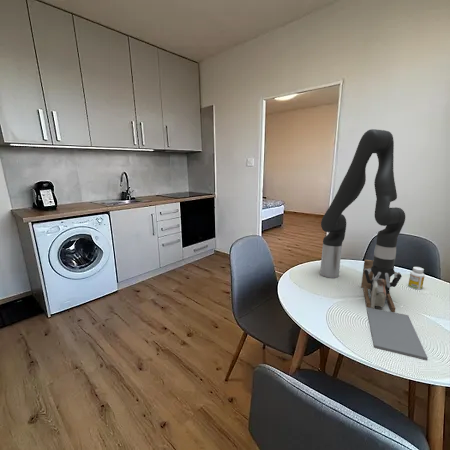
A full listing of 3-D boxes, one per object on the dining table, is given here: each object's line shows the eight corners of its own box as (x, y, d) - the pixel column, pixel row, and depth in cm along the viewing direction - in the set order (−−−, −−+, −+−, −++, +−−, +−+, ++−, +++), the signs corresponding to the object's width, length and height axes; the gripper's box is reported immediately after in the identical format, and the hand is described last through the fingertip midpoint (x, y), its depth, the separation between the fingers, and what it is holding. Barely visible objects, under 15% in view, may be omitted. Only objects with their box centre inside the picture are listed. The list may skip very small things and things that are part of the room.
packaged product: (383, 312, 100) (388, 290, 98) (369, 308, 103) (374, 286, 100) (381, 292, 116) (385, 273, 113) (369, 289, 118) (373, 270, 115)
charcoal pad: (373, 347, 81) (374, 345, 81) (366, 309, 103) (366, 307, 102) (427, 360, 76) (427, 357, 76) (407, 316, 97) (408, 315, 97)
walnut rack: (365, 307, 104) (369, 276, 100) (361, 286, 121) (364, 259, 118) (396, 313, 99) (401, 281, 96) (387, 290, 117) (392, 262, 114)
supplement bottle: (417, 284, 123) (420, 266, 120) (424, 290, 117) (428, 270, 115) (405, 284, 123) (408, 265, 121) (412, 289, 118) (416, 270, 116)
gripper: (365, 256, 103) (361, 294, 107) (407, 261, 98) (400, 300, 101) (364, 250, 110) (359, 286, 114) (403, 254, 104) (397, 292, 108)
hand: (379, 293), depth 108 cm, fingers closed on packaged product, 4 cm apart
